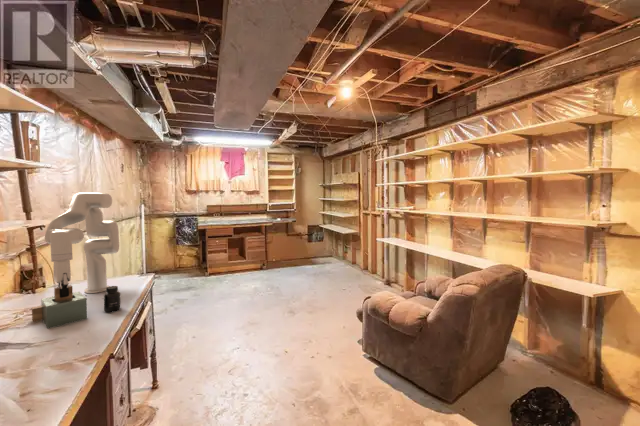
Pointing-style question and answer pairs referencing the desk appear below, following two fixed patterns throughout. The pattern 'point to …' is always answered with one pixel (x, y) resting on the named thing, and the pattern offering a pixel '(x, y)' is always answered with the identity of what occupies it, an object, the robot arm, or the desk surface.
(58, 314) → the box
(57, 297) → the block
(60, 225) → the robot arm
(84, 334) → the desk surface
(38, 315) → the token
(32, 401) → the desk surface
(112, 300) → the supplement bottle
